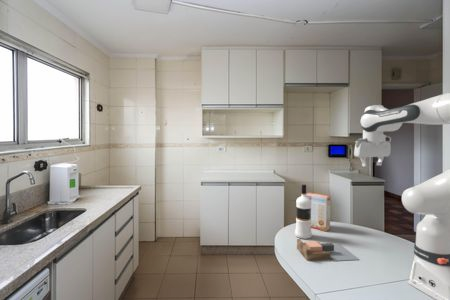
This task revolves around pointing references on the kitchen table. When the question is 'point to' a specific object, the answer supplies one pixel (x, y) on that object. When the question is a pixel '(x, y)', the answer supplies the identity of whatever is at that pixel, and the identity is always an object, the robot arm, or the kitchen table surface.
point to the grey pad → (341, 254)
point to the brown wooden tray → (311, 255)
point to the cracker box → (320, 211)
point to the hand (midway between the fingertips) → (371, 166)
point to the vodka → (303, 216)
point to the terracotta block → (319, 246)
